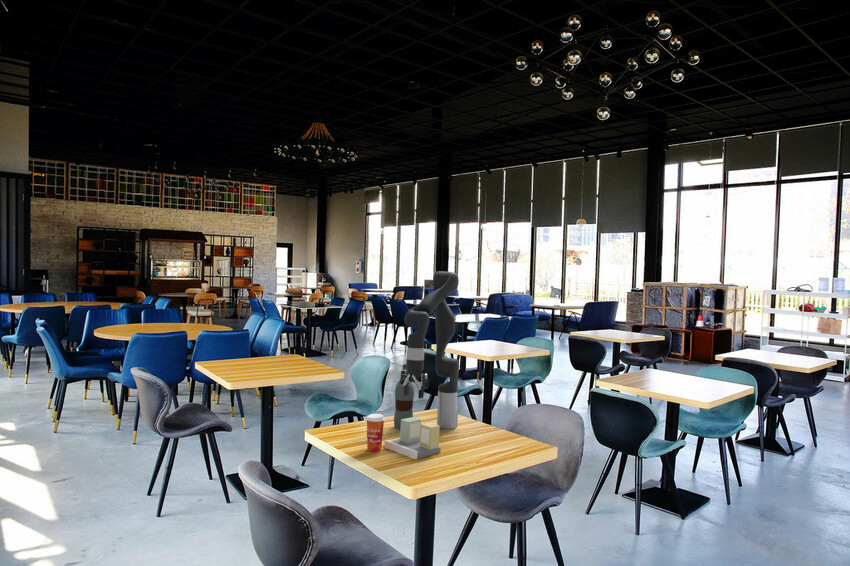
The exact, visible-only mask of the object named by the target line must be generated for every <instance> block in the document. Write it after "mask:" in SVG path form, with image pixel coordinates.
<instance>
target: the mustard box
mask: <svg viewBox="0 0 850 566" xmlns="http://www.w3.org/2000/svg"><path fill="white" fill-rule="evenodd" d="M420 447H423V448H426V449H429V450H432V449H435V448H439V447H440V426H439V425H437V423H436V424H435V423H432V422H426V423H421V427H420Z"/></svg>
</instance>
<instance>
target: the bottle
mask: <svg viewBox="0 0 850 566" xmlns="http://www.w3.org/2000/svg"><path fill="white" fill-rule="evenodd" d="M402 370H407V369H406V363H405V364H402ZM406 378H407V377H406ZM403 380H404V379H403ZM403 392H404V386H403V385H402V384H400V379H399V381H398V382H397V383H396V386H395V389H394V397H395V399H394V401H395V404H394V405H395V408H394V409H395V410H394V416H393V424H394V425H393V426H394V429H395V430H397V431H400V429H401V419H406V418H411V417H414V412H413V408H414V407H413V406H414V399H415V389H414V383H413V382H411V383H410V384H409V395H404V393H403Z"/></svg>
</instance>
